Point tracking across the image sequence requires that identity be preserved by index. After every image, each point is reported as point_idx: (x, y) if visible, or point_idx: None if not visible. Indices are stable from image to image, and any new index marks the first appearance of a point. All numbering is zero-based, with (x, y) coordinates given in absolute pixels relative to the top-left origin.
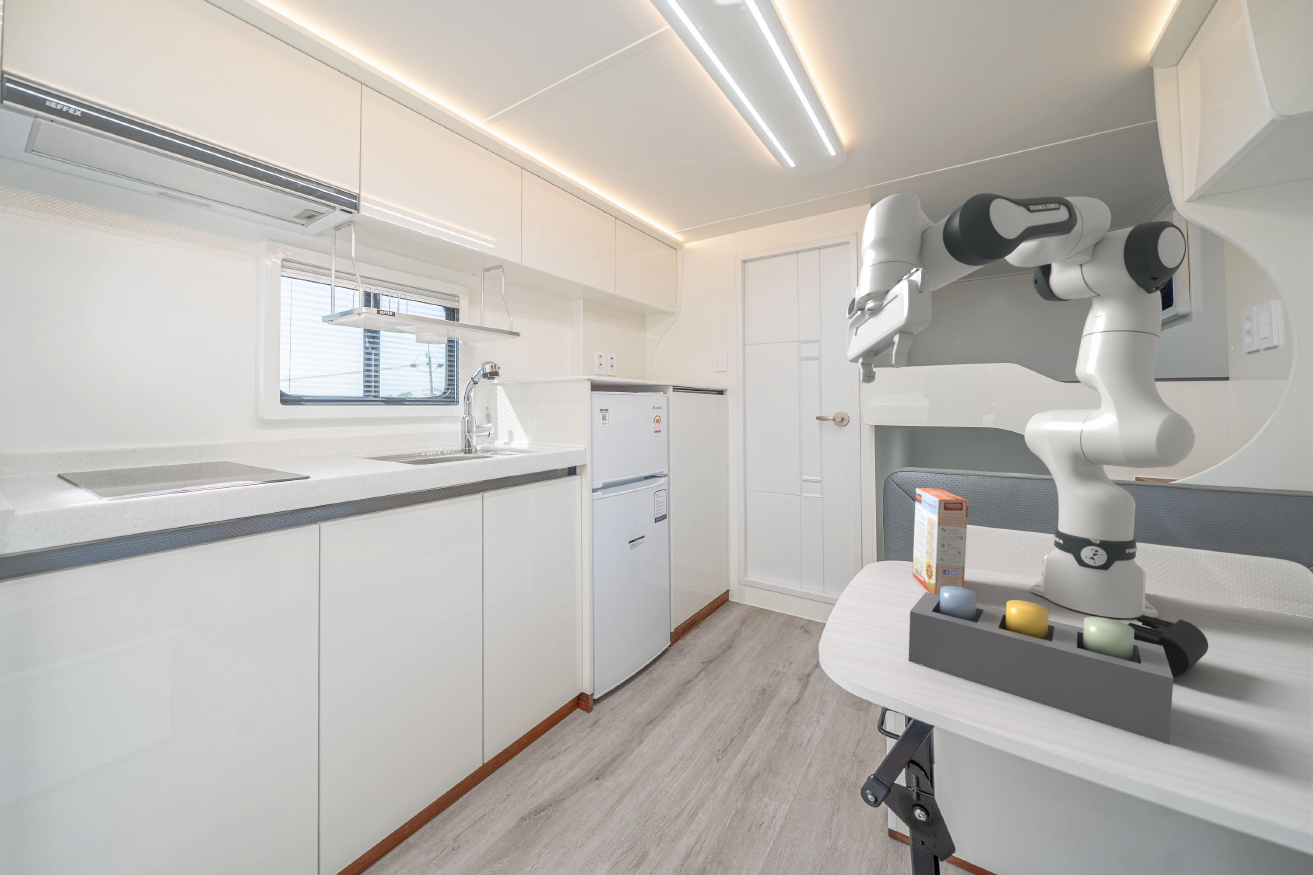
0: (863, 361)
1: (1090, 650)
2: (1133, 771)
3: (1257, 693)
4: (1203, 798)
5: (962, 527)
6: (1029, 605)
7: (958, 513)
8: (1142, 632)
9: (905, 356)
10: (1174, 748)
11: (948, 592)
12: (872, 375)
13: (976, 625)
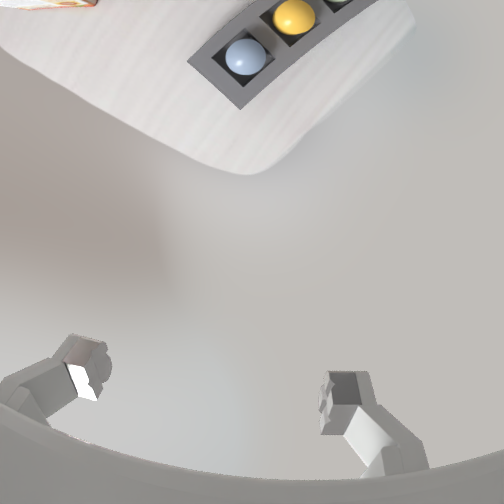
0: (50, 426)
1: (333, 2)
2: (377, 52)
3: None
4: (397, 39)
5: None
6: (293, 10)
7: None
8: None
9: (374, 399)
10: None
11: (247, 69)
12: (94, 363)
13: (281, 63)
